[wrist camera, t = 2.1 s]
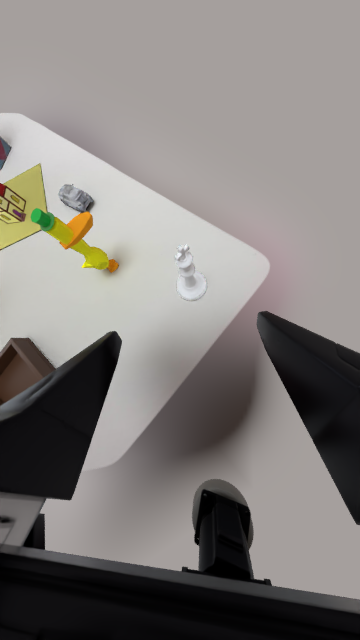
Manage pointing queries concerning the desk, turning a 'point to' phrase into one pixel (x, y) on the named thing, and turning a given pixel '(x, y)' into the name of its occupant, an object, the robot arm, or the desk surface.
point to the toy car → (74, 197)
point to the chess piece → (189, 276)
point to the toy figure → (74, 237)
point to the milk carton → (3, 151)
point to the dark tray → (20, 367)
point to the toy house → (20, 205)
